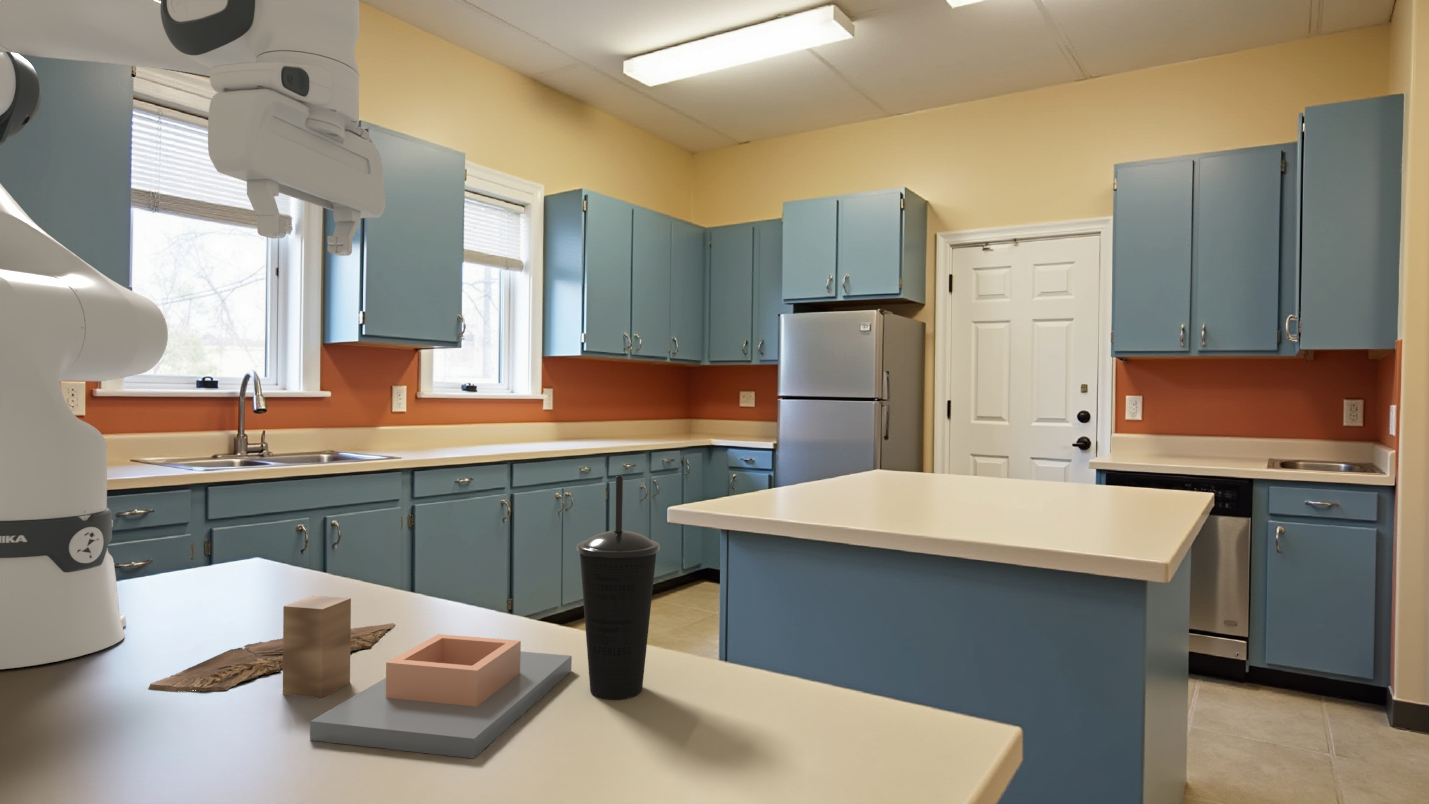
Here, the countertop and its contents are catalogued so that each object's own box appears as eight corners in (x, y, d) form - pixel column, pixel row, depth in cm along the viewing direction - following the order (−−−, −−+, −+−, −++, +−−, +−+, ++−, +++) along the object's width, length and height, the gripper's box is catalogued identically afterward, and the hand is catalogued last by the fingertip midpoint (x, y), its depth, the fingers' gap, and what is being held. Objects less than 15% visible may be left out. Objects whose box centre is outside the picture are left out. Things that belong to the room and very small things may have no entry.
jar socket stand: (310, 740, 65) (310, 683, 64) (442, 659, 84) (443, 615, 84) (473, 758, 62) (474, 699, 62) (571, 670, 81) (572, 625, 81)
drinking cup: (596, 712, 71) (599, 482, 71) (561, 685, 77) (564, 474, 77) (672, 695, 75) (675, 478, 75) (633, 671, 82) (636, 470, 81)
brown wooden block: (282, 694, 74) (283, 606, 74) (312, 679, 78) (313, 595, 78) (321, 698, 73) (322, 609, 73) (350, 682, 77) (350, 598, 77)
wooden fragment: (177, 707, 71) (177, 695, 71) (126, 680, 78) (126, 669, 78) (430, 637, 93) (430, 628, 93) (373, 621, 99) (373, 612, 99)
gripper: (348, 136, 89) (347, 263, 89) (193, 60, 69) (192, 226, 69) (401, 133, 87) (400, 262, 88) (259, 55, 67) (258, 223, 68)
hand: (307, 246), depth 78 cm, fingers open, 8 cm apart
